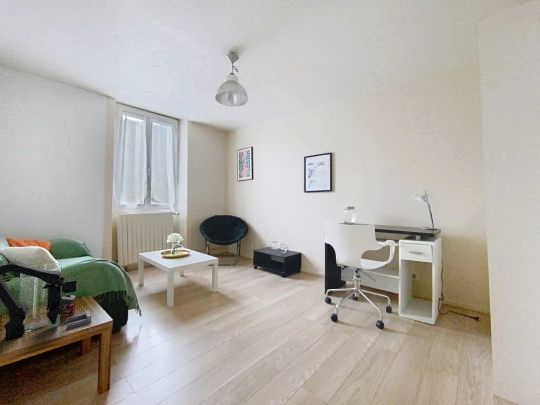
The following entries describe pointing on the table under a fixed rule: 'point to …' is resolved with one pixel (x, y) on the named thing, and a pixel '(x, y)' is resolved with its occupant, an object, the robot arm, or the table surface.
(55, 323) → the chute block
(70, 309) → the canned food
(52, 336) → the table surface
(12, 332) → the robot arm
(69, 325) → the side mount
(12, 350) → the table surface
